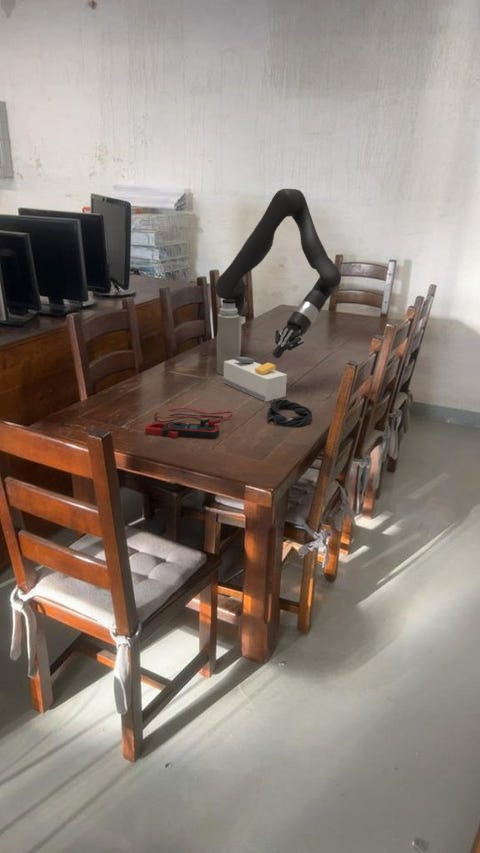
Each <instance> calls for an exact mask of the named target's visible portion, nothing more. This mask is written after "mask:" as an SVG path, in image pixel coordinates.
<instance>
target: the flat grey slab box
mask: <svg viewBox="0 0 480 853" xmlns="http://www.w3.org/2000/svg"><path fill="white" fill-rule="evenodd" d="M234 360H236V361H239V362H243V363H245V364H248V363H254V362H255V359H253V358H251V357H248V356H239V357H237V356H235V358H234Z"/></svg>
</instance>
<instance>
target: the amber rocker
mask: <svg viewBox="0 0 480 853" xmlns="http://www.w3.org/2000/svg"><path fill="white" fill-rule="evenodd" d="M276 369H277V366H276V364H273V363H271V362H266V363H264V364H261V366H259V367H257V368H255V372H257V373H260V374H262V375H263V374H266V373H270V371H272V370H276Z"/></svg>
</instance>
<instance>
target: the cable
mask: <svg viewBox="0 0 480 853" xmlns="http://www.w3.org/2000/svg"><path fill="white" fill-rule="evenodd" d="M269 405H270V407H269V408H268V411H267V414H266V418H267V421H272V422H273V423H275V424H276V423H279V424H281V425H283V426H285V427H289V428H297V427H302V426H303V427H304V426H308V424H309V423H311V420H312V417H313V413H312V411H311V409H310V408H308V407H306V406H303V405H301V404H300V403H297V402H294V401H293V402H292V401H290V400H289V399H285V398H284V399H282V398H278V399H273V400H272V402H271V401H270V402H269ZM278 409H285V410H293V411H294V412H295V413H296V414H297V413H298V414H302V415H303V416H302V415H297V416H292V417H291V418H286V416H285V415H282V414H281V413H280V412H279V411H278Z"/></svg>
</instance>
